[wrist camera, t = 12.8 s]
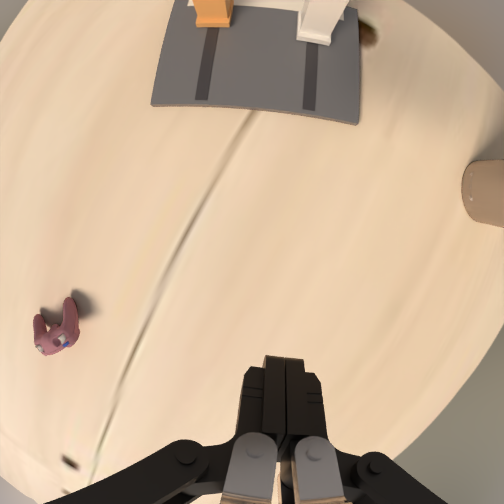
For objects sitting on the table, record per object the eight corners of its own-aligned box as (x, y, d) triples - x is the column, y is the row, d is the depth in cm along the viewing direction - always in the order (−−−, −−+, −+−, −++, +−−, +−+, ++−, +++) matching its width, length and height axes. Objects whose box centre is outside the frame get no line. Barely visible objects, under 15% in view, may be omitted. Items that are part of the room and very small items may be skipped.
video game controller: (53, 330, 37) (43, 364, 32) (34, 312, 35) (21, 347, 29) (90, 312, 37) (81, 351, 31) (70, 292, 34) (57, 330, 28)
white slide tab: (329, 20, 26) (350, -23, 16) (329, 45, 27) (353, 4, 17) (297, 14, 26) (310, -32, 16) (296, 39, 27) (310, -6, 17)
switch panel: (355, 12, 26) (357, 8, 25) (355, 125, 30) (358, 123, 29) (178, -4, 26) (177, -9, 25) (153, 106, 30) (149, 104, 28)
